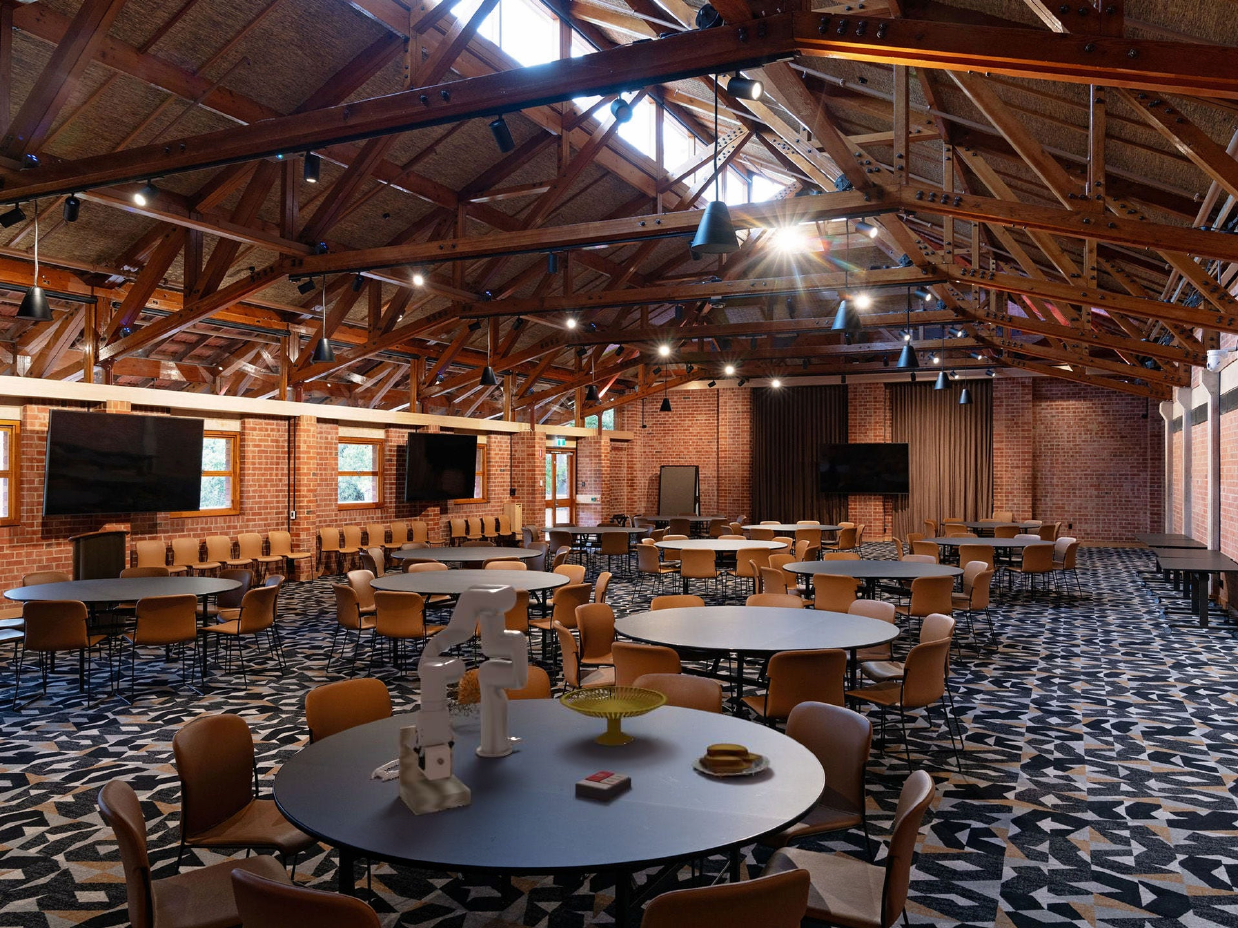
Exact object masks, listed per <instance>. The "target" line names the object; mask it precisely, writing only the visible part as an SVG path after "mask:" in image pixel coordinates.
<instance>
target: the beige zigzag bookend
mask: <svg viewBox="0 0 1238 928" xmlns="http://www.w3.org/2000/svg"><path fill="white" fill-rule="evenodd" d="M453 723H454V721H453V720H451V730H453V728H454V727H453V725H454V724H453ZM415 725H416V724H414V725H409V726H402V727H399V728H398V734H399V735H398V759H399V765H398V770H399V777H398V796H400V797H401V798H400V797H399V798H400V799H401V800H402V801H403V802H404V804H405V803H406V804H405V805H406V806H407V807H408V808H409V810H410V811H411V812H412V813H413V814H414V815H415V816H420V815H424V814H425V815H426V814H430V813H434V812H439V810H440V811H444V810H448V809H447V808H450V809H454V807H455V808H458V807H457V806H460V807H463V805H464V806H468V805H471V803H472V802H471V799H472V796H471V795H472V794H471V793H472V792H471V789H470V788H469V787H468V786H467V785H466V784H464V783H463V782H462V781H461V780H460V779H459V778H458V777H456V776H455V775H454V774H453V762H454V761H453V758H454V757H453V752H454V751H453V747H454V746H453V747H452V748H451V749H450V777H444V778H439V779H434V780H429V779H428V778H427V777H426V776H425V775H424V774H423V773H422V772H421V771H420V770H419V769H418V754H417V753H415V752H414V751H413V750H412V749H411V748H410V747H408V746H407V744H408V742H409V741H410V740H411V739H412V737H413V736H414V735H415ZM453 731H454V730H453ZM451 739H452V738H451ZM414 746H415V747H417V748H418V743H416V742H415V743H414Z"/></svg>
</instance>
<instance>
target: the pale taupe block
mask: <svg viewBox="0 0 1238 928" xmlns="http://www.w3.org/2000/svg"><path fill="white" fill-rule="evenodd" d="M418 747H419V744H418ZM424 756H425V770H422V769H421V768H420V767H419V766H418V769H419V770H420V771H421V772H422V773H423V774H424V775H425V776H426V777H427V778H428V779H429V780H434V779H439V778H444V777H450V748H449V747H448V746H446V745H445V744H438V745H432V746H426V748H425V752H424Z"/></svg>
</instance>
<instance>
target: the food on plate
mask: <svg viewBox="0 0 1238 928" xmlns="http://www.w3.org/2000/svg"><path fill="white" fill-rule="evenodd" d="M770 764H771V760H770V759H769V758H768V757H767V756H765V755H764V754H759V753H754V752H751V751H750V752H749V750H748V748H747V747H746V746H743V745H741V744H736V743H715V744H714V743H713V744H710V745H709V746H707V747H706V754H704V755H703V756H700V757H697V758H696V760H694V762H692V764H691V765H692V766H691V767H692V768H693V767H694V768H695V769H697V770H699V771H701V772H704V773H706V774H710V775H711V776H712V775H713V776H714V777H716V776H718V780H719V781H722V780H723V779H722V777H724V776H725V777H728V776H729V777H730V776H732V777H733V776H741V775H742V776H744V775H745V776H749V774H752V777H754V776H755V774H757V772H762V770H763V771H766V770H767V769H768V767H769V766H770ZM704 768H705V769H704ZM706 769H707V770H706Z"/></svg>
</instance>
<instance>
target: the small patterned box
mask: <svg viewBox="0 0 1238 928" xmlns="http://www.w3.org/2000/svg"><path fill="white" fill-rule="evenodd" d="M574 785H575V789H574V792H575V793H574V795H575V796H576V797H580V798H585V799H589V800H593V799H594V800H593V801H597V800H598V802H602V801H603V802H602V803H607V802H609V801H611V800H612V799H614V797H617V796H618V795H620V794H622V793H624V792H625V791H627V790H628V789H630V788H632V778H631V777H630V775H626V774H620V773H615V772H610V771H605V770H601V771H599V772H597V773H595V774H592V775H590V776H587V777H585V778H584V779H582V780H580V781H577V783H575V784H574ZM610 799H611V800H610Z"/></svg>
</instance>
